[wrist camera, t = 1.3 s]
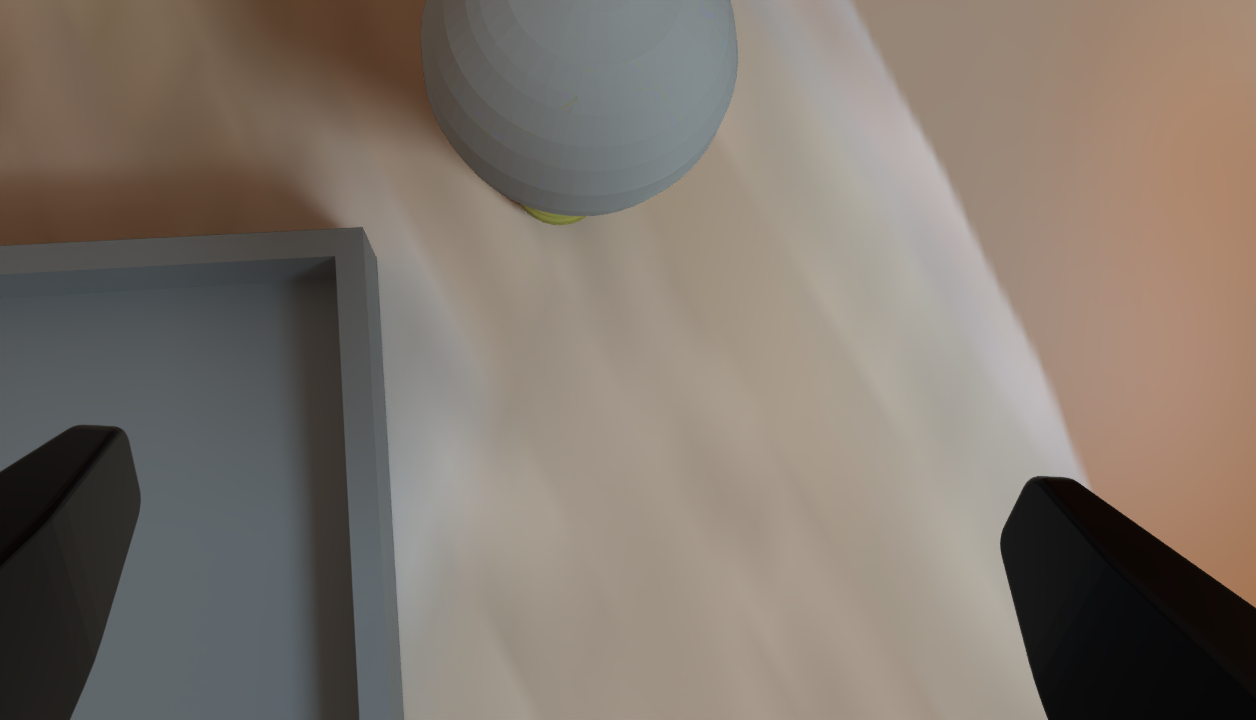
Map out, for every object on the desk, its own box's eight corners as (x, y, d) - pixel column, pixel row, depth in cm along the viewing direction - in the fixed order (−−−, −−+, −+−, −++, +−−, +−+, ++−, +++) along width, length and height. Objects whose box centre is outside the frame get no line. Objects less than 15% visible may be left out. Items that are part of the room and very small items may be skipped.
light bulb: (432, 97, 24) (389, -196, 14) (647, 83, 25) (747, -203, 15) (455, 311, 23) (426, 158, 13) (676, 289, 24) (804, 130, 14)
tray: (410, 841, 21) (400, 883, 18) (-268, 940, 19) (-380, 1003, 17) (376, 258, 23) (362, 226, 20) (-242, 292, 21) (-340, 263, 18)
